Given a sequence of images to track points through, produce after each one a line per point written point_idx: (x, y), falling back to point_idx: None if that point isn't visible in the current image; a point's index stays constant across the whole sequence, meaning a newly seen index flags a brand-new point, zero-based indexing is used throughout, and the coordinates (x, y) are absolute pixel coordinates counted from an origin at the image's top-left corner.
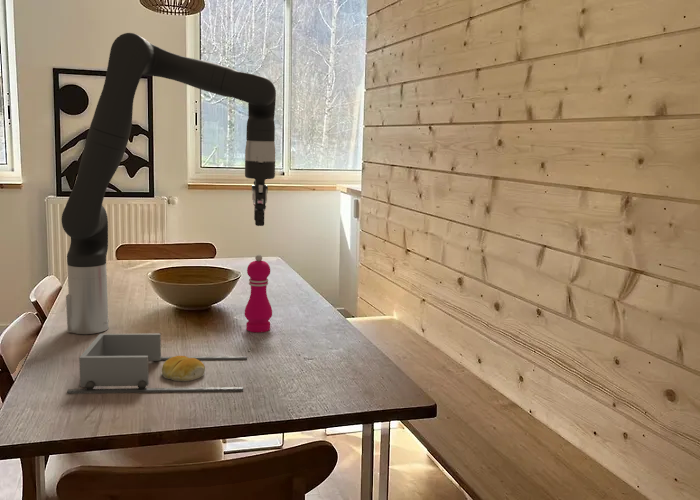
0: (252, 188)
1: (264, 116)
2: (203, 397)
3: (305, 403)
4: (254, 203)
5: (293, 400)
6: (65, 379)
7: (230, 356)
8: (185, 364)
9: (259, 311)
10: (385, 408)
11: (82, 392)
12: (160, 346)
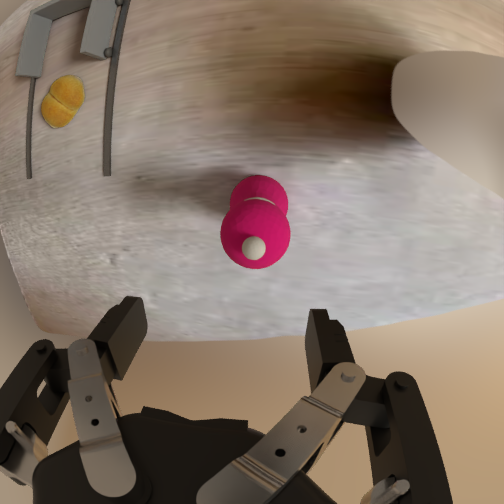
0: (86, 467)
1: None
2: (19, 140)
3: (17, 237)
4: (323, 381)
5: (19, 227)
6: None
7: (107, 152)
8: (42, 108)
9: (230, 206)
10: (24, 297)
11: None
12: (94, 55)
